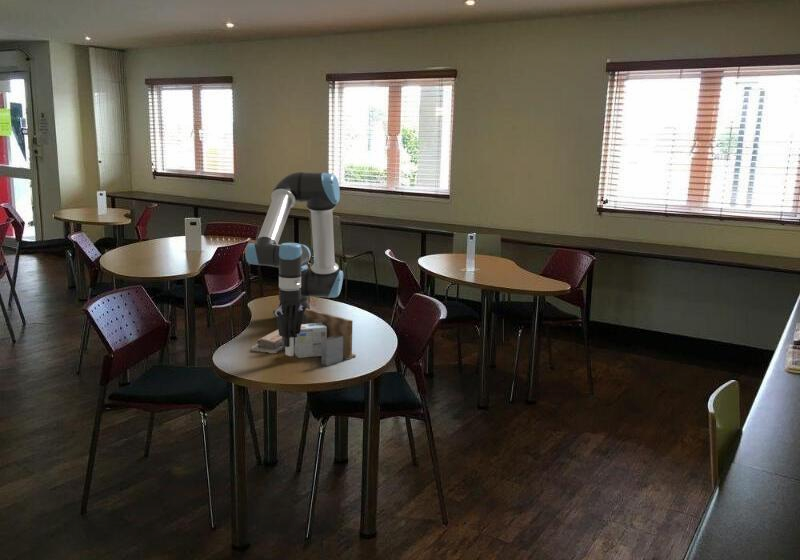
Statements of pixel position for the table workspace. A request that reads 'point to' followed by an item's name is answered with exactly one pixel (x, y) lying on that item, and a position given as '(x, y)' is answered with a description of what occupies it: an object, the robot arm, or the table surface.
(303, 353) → the light bulb box
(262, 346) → the packaged product
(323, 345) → the bookend
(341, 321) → the rack
